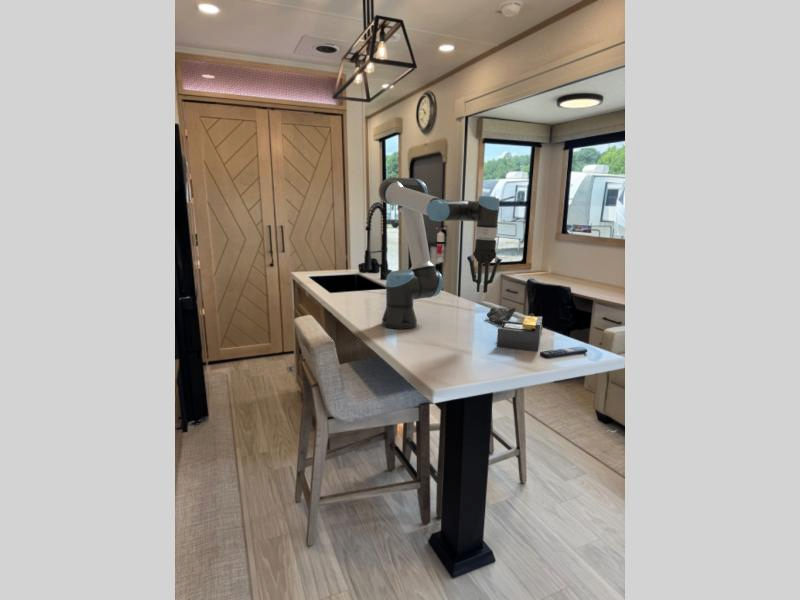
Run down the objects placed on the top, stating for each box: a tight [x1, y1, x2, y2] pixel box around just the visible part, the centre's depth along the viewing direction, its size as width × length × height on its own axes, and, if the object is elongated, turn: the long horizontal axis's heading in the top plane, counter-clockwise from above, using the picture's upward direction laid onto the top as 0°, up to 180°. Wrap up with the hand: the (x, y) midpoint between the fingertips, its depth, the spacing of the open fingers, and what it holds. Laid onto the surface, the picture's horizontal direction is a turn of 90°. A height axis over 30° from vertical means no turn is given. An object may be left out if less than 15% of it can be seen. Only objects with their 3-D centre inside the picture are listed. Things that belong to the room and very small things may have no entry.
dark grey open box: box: [496, 315, 543, 353], centre depth 165 cm, size 15×13×10 cm
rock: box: [486, 306, 516, 326], centre depth 200 cm, size 13×13×10 cm
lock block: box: [504, 323, 533, 331], centre depth 166 cm, size 10×6×7 cm, turn 70°
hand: (481, 300), depth 168 cm, fingers closed
